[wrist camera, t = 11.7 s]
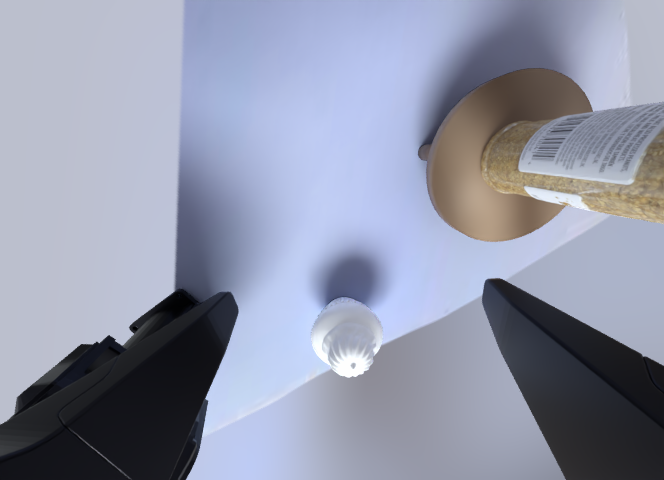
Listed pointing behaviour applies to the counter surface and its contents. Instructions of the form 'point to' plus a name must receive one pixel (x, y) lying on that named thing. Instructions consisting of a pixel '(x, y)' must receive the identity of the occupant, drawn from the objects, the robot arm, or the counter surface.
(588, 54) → the counter surface
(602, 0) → the counter surface
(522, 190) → the sprinkles bottle
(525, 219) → the walnut footstool
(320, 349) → the muffin
